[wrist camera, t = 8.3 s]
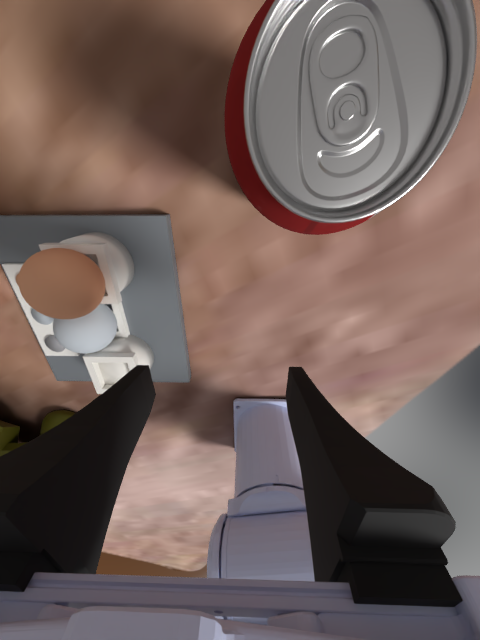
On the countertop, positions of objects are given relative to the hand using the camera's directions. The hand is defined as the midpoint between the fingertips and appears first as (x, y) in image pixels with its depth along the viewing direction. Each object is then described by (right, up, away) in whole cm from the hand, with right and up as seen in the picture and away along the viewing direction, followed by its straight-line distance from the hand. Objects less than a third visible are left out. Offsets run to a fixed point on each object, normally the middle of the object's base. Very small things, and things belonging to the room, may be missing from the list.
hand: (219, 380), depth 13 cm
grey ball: (-11, +3, +7) cm, 14 cm away
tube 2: (-10, 0, +11) cm, 15 cm away
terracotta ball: (-10, +5, +3) cm, 12 cm away
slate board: (-11, +4, +10) cm, 16 cm away
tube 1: (-10, +8, +7) cm, 14 cm away
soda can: (+4, +14, +4) cm, 16 cm away
